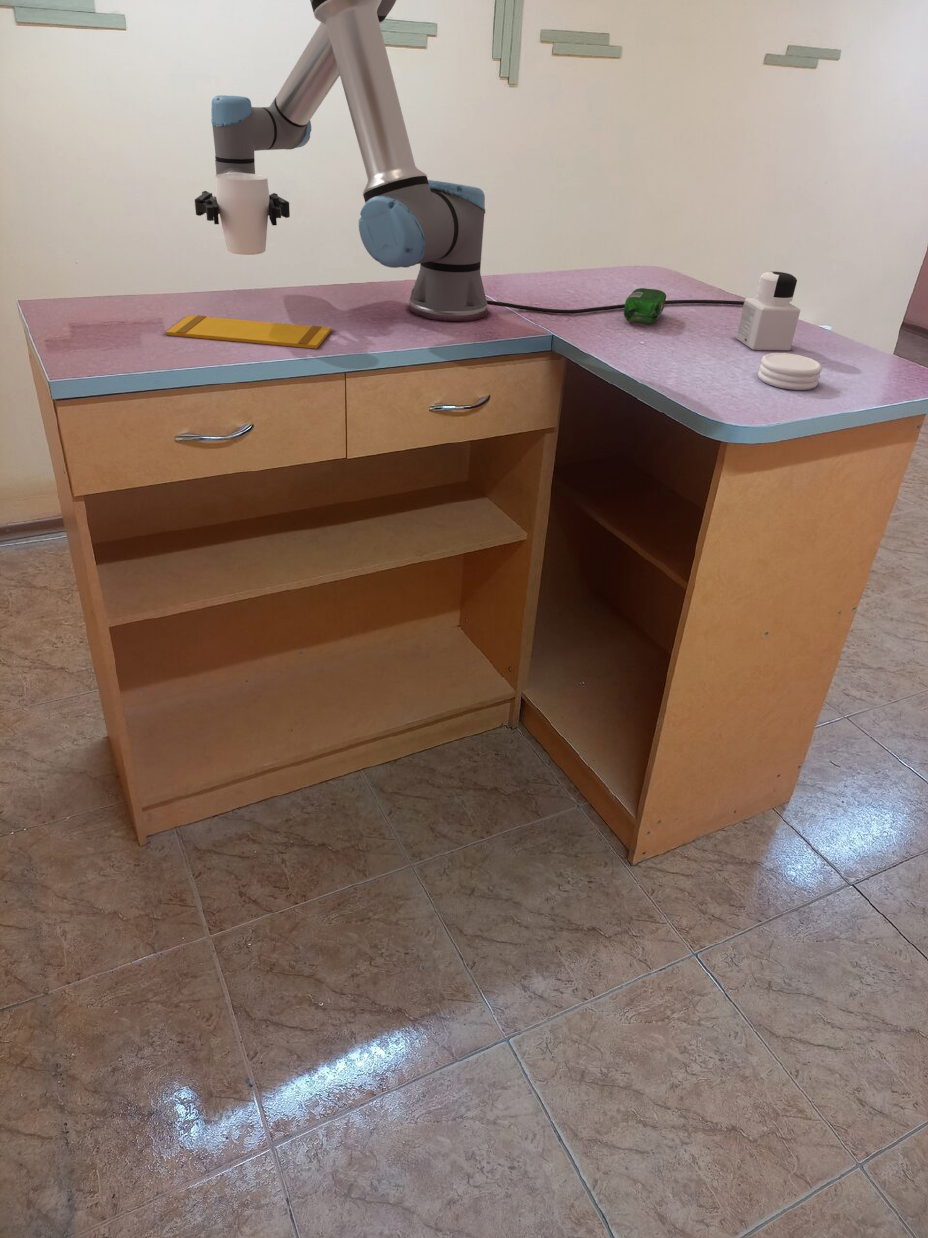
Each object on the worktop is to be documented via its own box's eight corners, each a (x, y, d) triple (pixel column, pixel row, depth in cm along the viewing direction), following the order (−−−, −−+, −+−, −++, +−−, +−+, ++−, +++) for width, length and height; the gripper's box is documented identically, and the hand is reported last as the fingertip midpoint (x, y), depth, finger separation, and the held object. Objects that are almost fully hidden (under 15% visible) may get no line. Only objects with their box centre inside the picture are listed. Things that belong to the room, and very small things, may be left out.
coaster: (814, 395, 147) (820, 374, 145) (753, 383, 150) (758, 363, 148) (819, 378, 155) (825, 358, 153) (761, 368, 158) (766, 348, 156)
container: (772, 339, 175) (789, 269, 168) (790, 350, 169) (809, 278, 162) (735, 338, 174) (751, 268, 166) (752, 350, 167) (769, 277, 160)
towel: (330, 331, 161) (330, 327, 160) (316, 348, 151) (316, 344, 151) (188, 318, 162) (188, 314, 161) (166, 335, 153) (165, 330, 152)
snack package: (618, 326, 176) (622, 299, 173) (631, 307, 188) (636, 282, 185) (654, 332, 174) (659, 304, 171) (665, 313, 187) (670, 287, 184)
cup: (266, 257, 156) (262, 181, 149) (214, 254, 156) (207, 178, 149) (276, 247, 163) (273, 174, 157) (227, 244, 163) (221, 171, 157)
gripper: (297, 217, 175) (310, 240, 157) (181, 214, 170) (181, 238, 152) (295, 174, 171) (308, 193, 153) (177, 170, 166) (176, 190, 148)
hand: (245, 216), depth 152 cm, fingers closed on cup, 9 cm apart
